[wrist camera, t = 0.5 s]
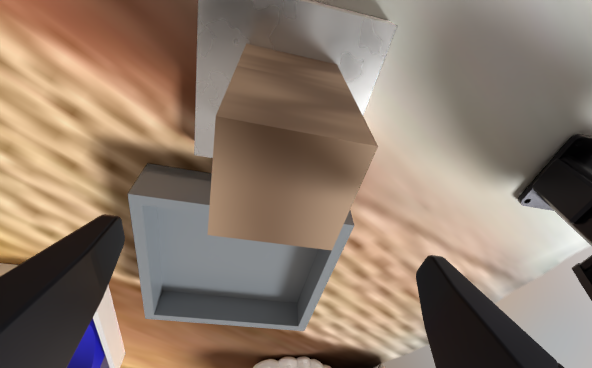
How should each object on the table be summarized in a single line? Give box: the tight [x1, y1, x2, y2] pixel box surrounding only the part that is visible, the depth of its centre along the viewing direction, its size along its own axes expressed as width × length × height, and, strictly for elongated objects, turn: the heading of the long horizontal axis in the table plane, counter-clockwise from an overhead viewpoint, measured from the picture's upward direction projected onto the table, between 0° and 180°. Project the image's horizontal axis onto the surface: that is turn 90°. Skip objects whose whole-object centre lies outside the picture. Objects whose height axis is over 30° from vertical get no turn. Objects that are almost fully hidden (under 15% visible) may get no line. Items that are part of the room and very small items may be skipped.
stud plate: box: [194, 0, 397, 158], centre depth 17 cm, size 10×10×5 cm
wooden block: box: [208, 44, 378, 250], centre depth 14 cm, size 5×5×9 cm
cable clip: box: [67, 318, 105, 368], centre depth 31 cm, size 12×4×6 cm, turn 173°
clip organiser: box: [0, 263, 126, 368], centre depth 32 cm, size 9×17×2 cm, turn 167°
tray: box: [128, 163, 354, 331], centre depth 26 cm, size 15×15×4 cm
